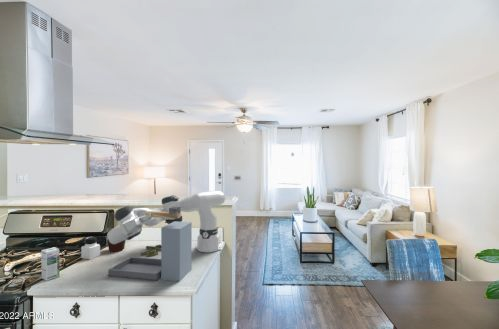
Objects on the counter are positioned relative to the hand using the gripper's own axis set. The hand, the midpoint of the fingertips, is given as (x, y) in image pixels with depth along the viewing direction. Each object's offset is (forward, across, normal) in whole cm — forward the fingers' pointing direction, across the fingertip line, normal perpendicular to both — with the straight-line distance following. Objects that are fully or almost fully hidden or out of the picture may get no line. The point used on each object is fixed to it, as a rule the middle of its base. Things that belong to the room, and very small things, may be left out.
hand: (153, 213), depth 136 cm
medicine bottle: (-59, -12, -2) cm, 60 cm away
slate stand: (-4, 0, -34) cm, 34 cm away
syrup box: (-57, +16, -4) cm, 59 cm away
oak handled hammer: (+4, 0, -4) cm, 5 cm away
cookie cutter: (-31, -28, -19) cm, 46 cm away
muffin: (-53, -26, -6) cm, 59 cm away
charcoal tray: (-21, 0, -24) cm, 32 cm away
